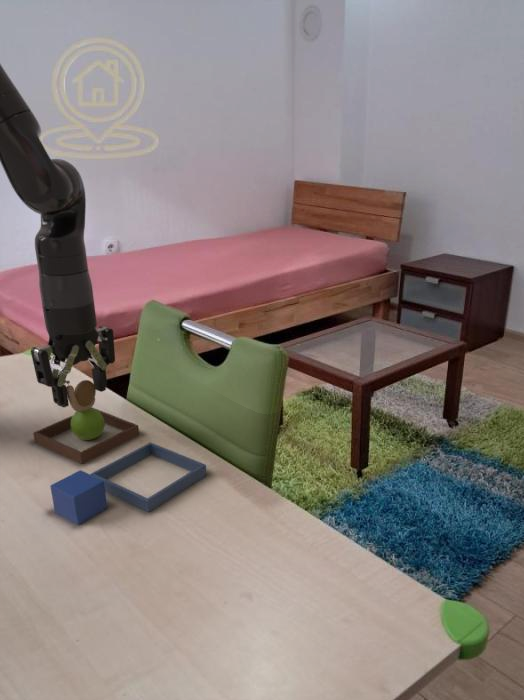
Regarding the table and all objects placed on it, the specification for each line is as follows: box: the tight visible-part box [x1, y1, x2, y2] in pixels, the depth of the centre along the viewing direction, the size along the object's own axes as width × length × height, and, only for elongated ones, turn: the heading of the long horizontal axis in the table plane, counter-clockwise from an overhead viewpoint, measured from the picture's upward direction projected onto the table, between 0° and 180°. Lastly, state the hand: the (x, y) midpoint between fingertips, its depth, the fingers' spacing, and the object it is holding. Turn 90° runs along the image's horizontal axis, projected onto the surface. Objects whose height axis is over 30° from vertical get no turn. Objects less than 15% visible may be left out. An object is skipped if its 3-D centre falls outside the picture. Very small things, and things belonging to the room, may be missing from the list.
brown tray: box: [32, 406, 140, 465], centre depth 106 cm, size 12×12×2 cm
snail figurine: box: [64, 379, 106, 441], centre depth 104 cm, size 5×6×12 cm
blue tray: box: [90, 442, 207, 513], centre depth 95 cm, size 12×12×2 cm
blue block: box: [50, 469, 108, 526], centre depth 87 cm, size 5×5×5 cm
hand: (81, 397), depth 103 cm, fingers open, 7 cm apart
